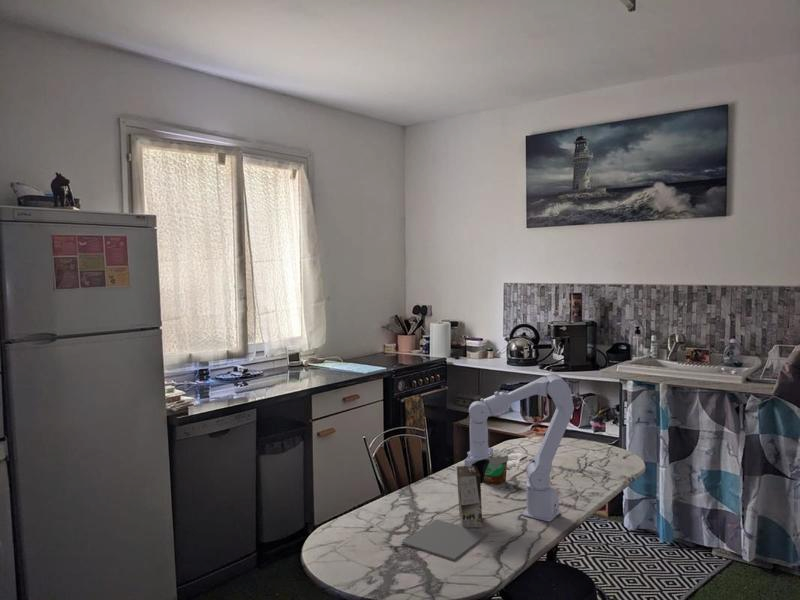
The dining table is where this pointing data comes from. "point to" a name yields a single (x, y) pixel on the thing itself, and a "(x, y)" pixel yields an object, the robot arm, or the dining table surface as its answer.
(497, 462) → the food container
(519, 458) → the cloth
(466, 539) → the mat
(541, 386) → the robot arm
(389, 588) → the dining table surface
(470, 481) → the coffee box
